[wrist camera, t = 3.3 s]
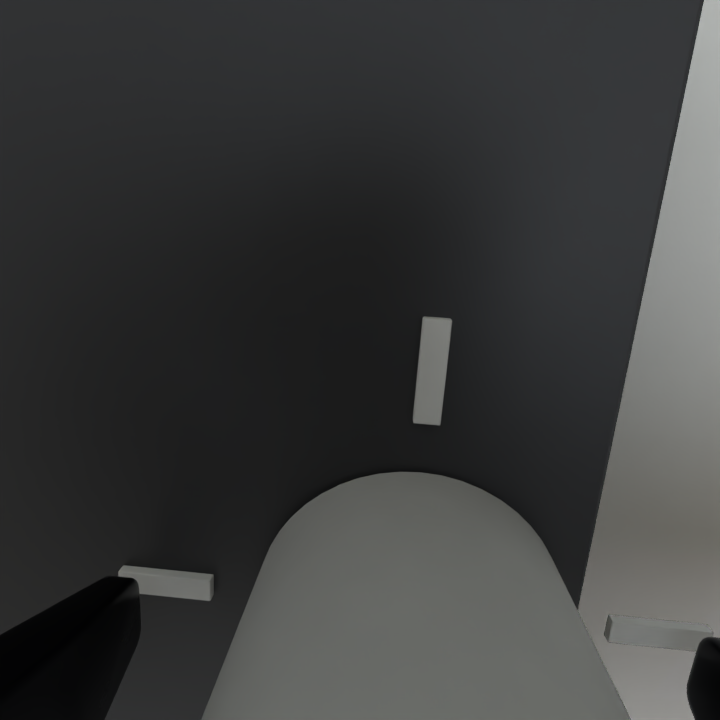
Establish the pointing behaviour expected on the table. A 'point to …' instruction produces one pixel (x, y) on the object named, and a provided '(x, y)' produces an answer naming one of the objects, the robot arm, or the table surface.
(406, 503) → the timer knob
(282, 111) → the console
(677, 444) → the table surface
